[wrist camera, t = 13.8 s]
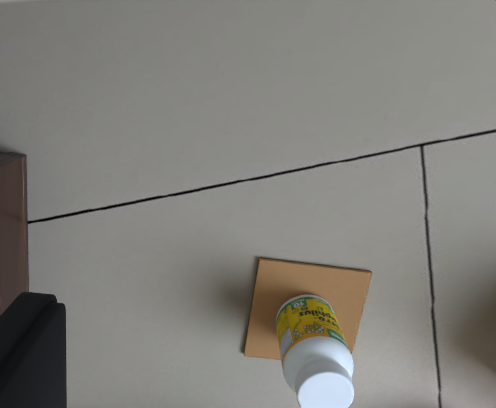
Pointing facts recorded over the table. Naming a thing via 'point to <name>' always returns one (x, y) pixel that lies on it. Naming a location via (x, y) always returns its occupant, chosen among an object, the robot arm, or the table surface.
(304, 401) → the supplement bottle
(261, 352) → the coaster
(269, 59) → the table surface
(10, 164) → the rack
